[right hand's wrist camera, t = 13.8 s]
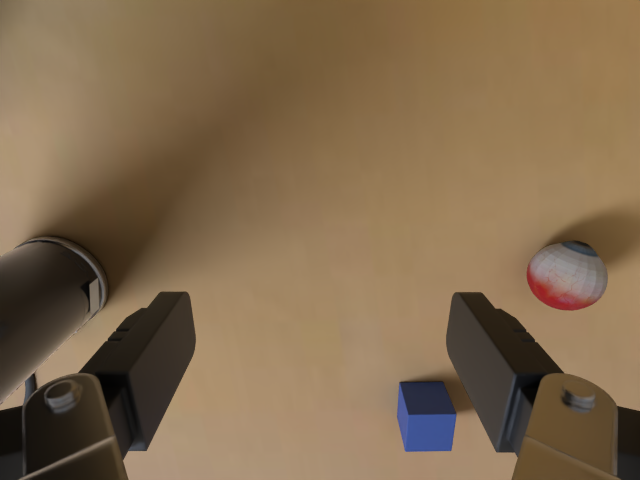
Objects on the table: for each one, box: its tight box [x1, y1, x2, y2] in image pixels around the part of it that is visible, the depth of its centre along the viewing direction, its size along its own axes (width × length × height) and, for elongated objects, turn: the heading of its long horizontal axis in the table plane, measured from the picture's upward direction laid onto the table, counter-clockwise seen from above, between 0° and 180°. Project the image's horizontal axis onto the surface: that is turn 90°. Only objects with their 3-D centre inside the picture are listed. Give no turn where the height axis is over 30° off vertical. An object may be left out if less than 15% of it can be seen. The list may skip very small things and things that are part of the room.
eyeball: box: [527, 241, 608, 310], centre depth 33 cm, size 6×6×6 cm
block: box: [397, 382, 456, 452], centre depth 40 cm, size 5×5×5 cm
